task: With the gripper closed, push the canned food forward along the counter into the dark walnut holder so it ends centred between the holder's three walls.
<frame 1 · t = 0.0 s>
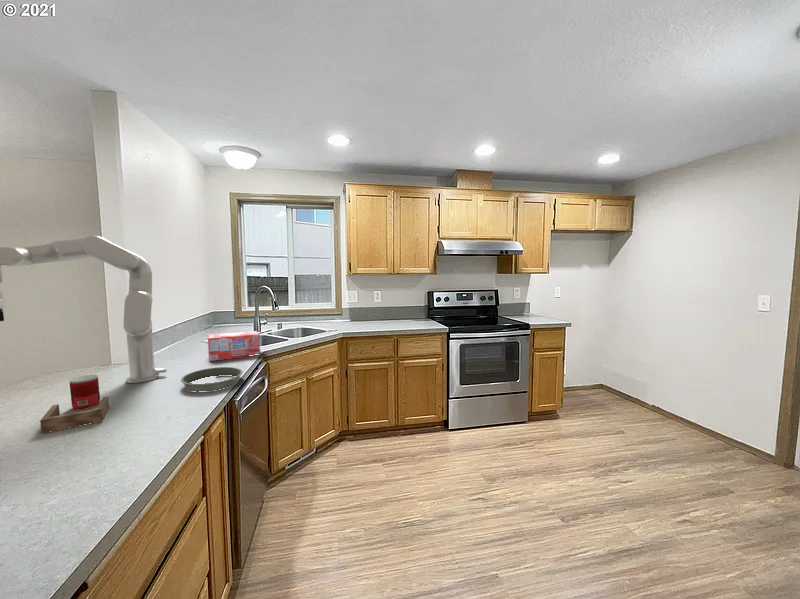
box: (234, 356, 200), on the countertop
walnut holder: (78, 419, 118), on the countertop
cake pan: (213, 384, 154), on the countertop
canned food: (86, 406, 130), on the countertop
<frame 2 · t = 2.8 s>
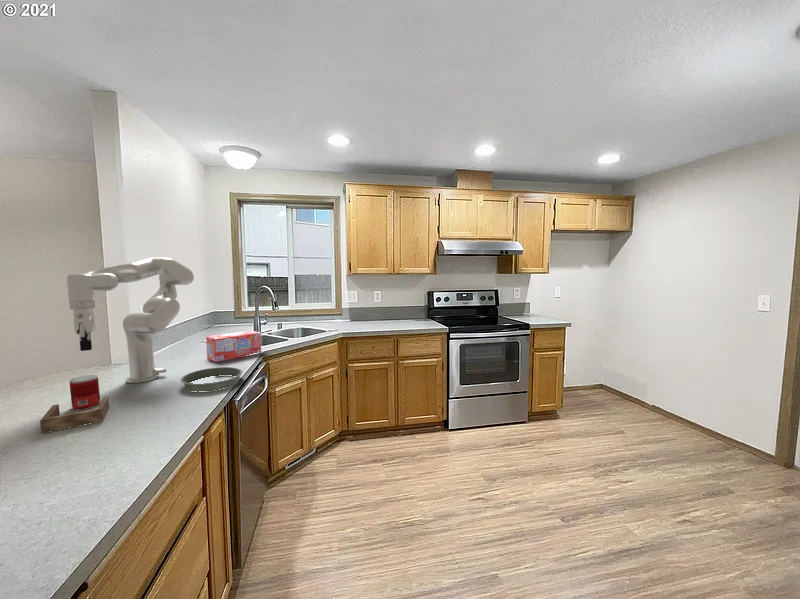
hand: (86, 350, 136), 20 cm above the countertop, tool pointing down, fingers closed
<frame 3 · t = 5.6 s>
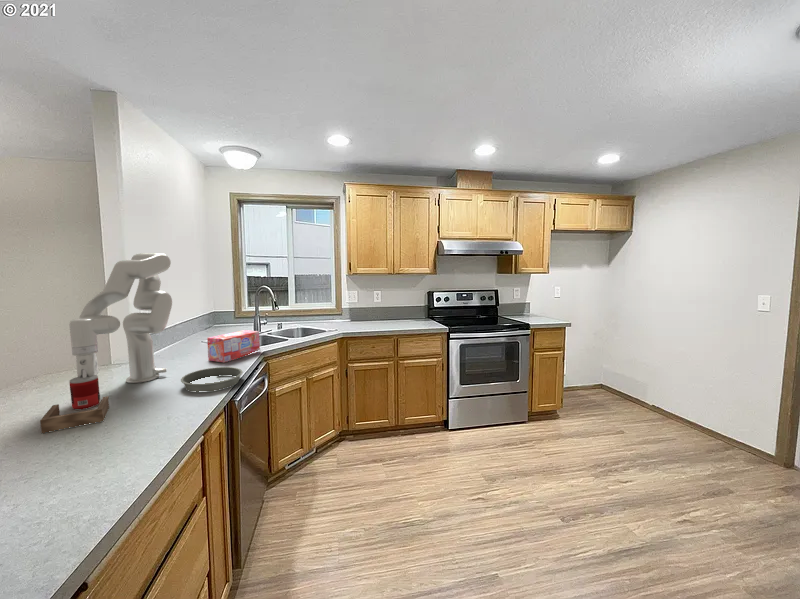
hand: (89, 394, 135), 2 cm above the countertop, tool pointing down, fingers closed
canned food: (86, 406, 130), on the countertop, touching gripper
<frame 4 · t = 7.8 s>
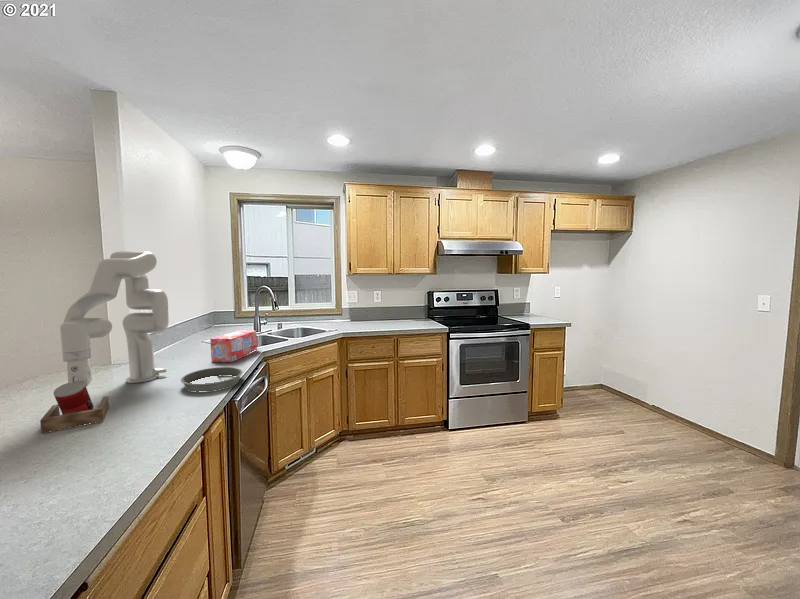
hand: (81, 403, 125), 3 cm above the countertop, tool pointing down, fingers closed
canned food: (79, 412, 121), point 1 cm above the countertop, touching gripper
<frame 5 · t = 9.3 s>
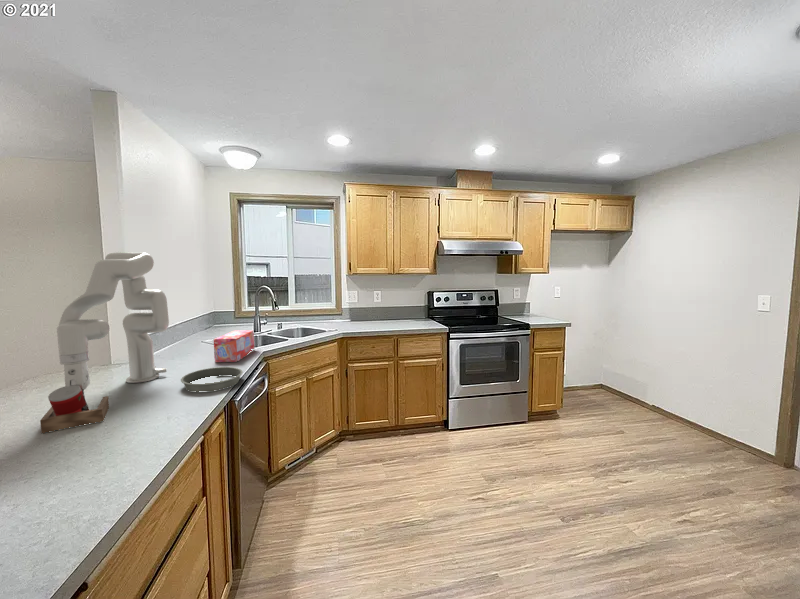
hand: (79, 407, 121), 3 cm above the countertop, tool pointing down, fingers closed
canned food: (75, 417, 118), point 1 cm above the countertop, touching gripper, walnut holder
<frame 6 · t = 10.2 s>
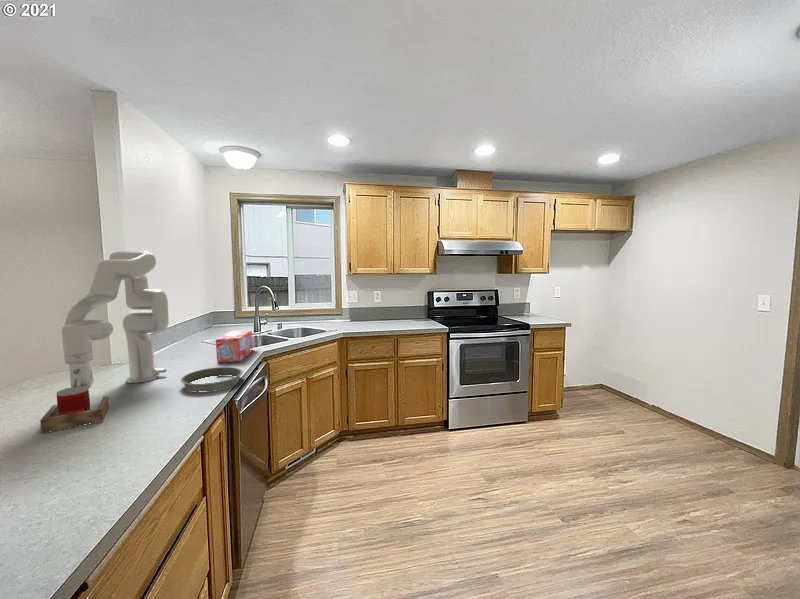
hand: (83, 405, 126), 2 cm above the countertop, tool pointing down, fingers closed
canned food: (75, 420, 118), resting in walnut holder
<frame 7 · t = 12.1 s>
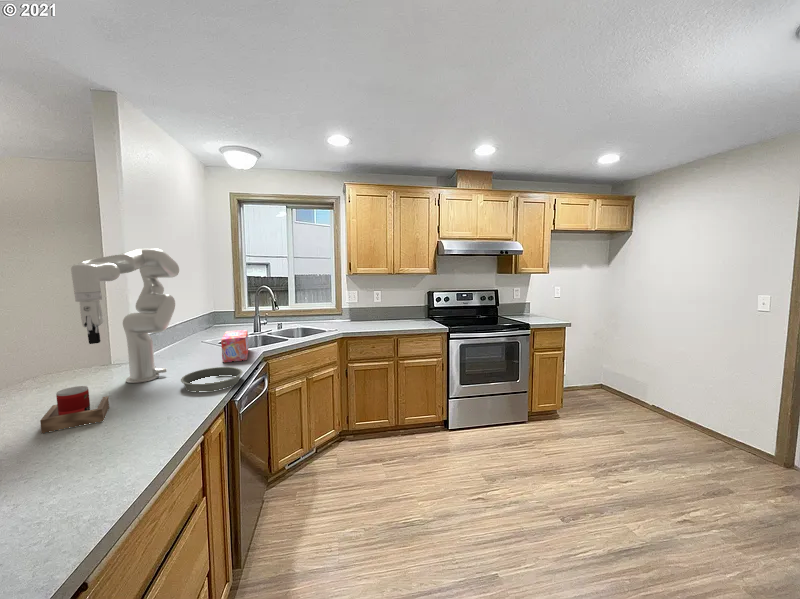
hand: (94, 342, 132), 24 cm above the countertop, tool pointing down, fingers closed
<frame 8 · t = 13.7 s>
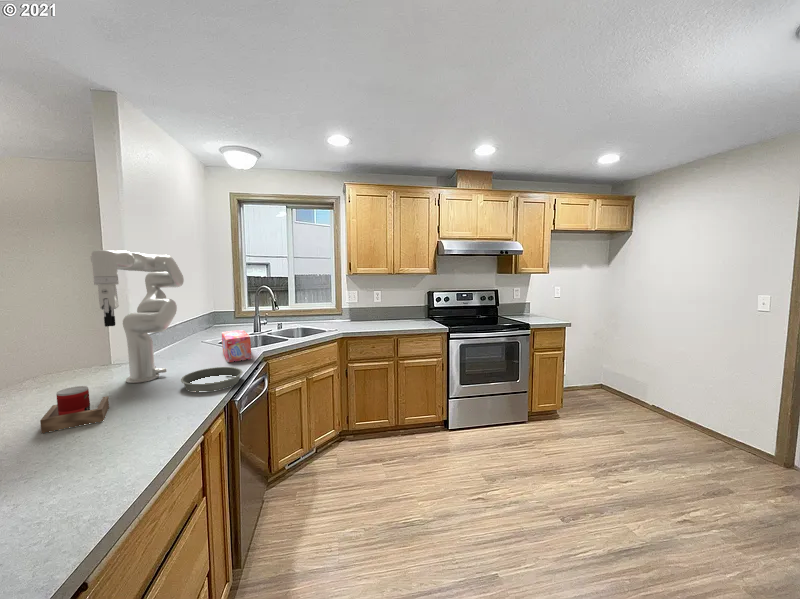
hand: (110, 325, 138), 29 cm above the countertop, tool pointing down, fingers closed
at the end: canned food 0.7 cm off-centre on the walnut holder, point 0.0 cm above the walnut holder's base; canned food tilted 0° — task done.
